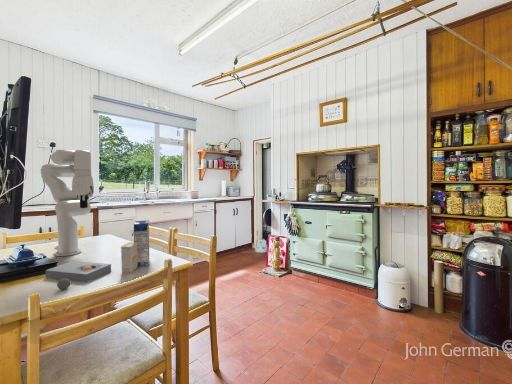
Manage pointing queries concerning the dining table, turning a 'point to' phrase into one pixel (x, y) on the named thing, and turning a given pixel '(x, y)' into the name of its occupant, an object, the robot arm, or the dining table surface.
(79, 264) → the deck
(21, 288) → the dining table surface
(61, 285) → the ball
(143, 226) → the beverage box
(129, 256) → the supplement box
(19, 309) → the dining table surface
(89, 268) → the ball
